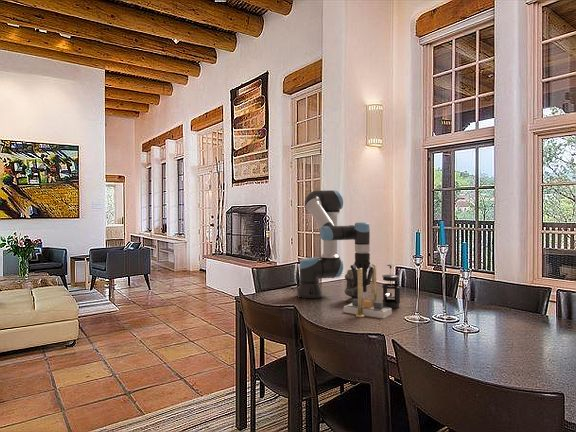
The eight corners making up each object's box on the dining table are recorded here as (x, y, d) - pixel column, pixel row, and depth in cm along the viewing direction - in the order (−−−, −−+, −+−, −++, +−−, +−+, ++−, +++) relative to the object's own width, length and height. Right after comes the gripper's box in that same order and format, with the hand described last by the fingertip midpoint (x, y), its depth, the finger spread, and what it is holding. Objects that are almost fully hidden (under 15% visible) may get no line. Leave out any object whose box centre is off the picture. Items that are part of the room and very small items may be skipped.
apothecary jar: (364, 298, 247) (364, 268, 247) (366, 303, 235) (366, 271, 235) (344, 298, 248) (343, 268, 248) (344, 303, 236) (344, 271, 236)
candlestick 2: (368, 310, 220) (368, 264, 220) (372, 308, 224) (371, 263, 223) (376, 311, 218) (375, 265, 217) (379, 309, 221) (379, 264, 221)
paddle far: (373, 308, 211) (373, 302, 211) (375, 307, 213) (375, 301, 213) (381, 309, 208) (381, 303, 208) (383, 308, 210) (382, 302, 210)
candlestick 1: (354, 316, 207) (353, 268, 207) (358, 314, 211) (358, 267, 210) (362, 318, 205) (361, 269, 204) (366, 316, 208) (365, 268, 208)
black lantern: (377, 305, 230) (377, 264, 229) (391, 303, 234) (391, 262, 233) (391, 310, 219) (391, 266, 219) (405, 308, 223) (405, 265, 223)
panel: (343, 312, 217) (343, 305, 217) (352, 308, 225) (352, 301, 225) (383, 318, 204) (383, 311, 204) (391, 314, 212) (391, 307, 212)
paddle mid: (362, 306, 214) (362, 300, 214) (364, 305, 216) (364, 300, 216) (369, 307, 212) (369, 301, 212) (372, 306, 214) (372, 300, 214)
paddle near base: (352, 305, 218) (352, 299, 218) (354, 304, 220) (354, 298, 220) (359, 306, 216) (359, 300, 215) (361, 305, 217) (361, 299, 217)
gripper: (347, 252, 216) (347, 297, 216) (370, 253, 208) (371, 301, 209) (354, 251, 222) (354, 295, 222) (377, 252, 214) (377, 298, 215)
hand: (362, 298), depth 216 cm, fingers closed
